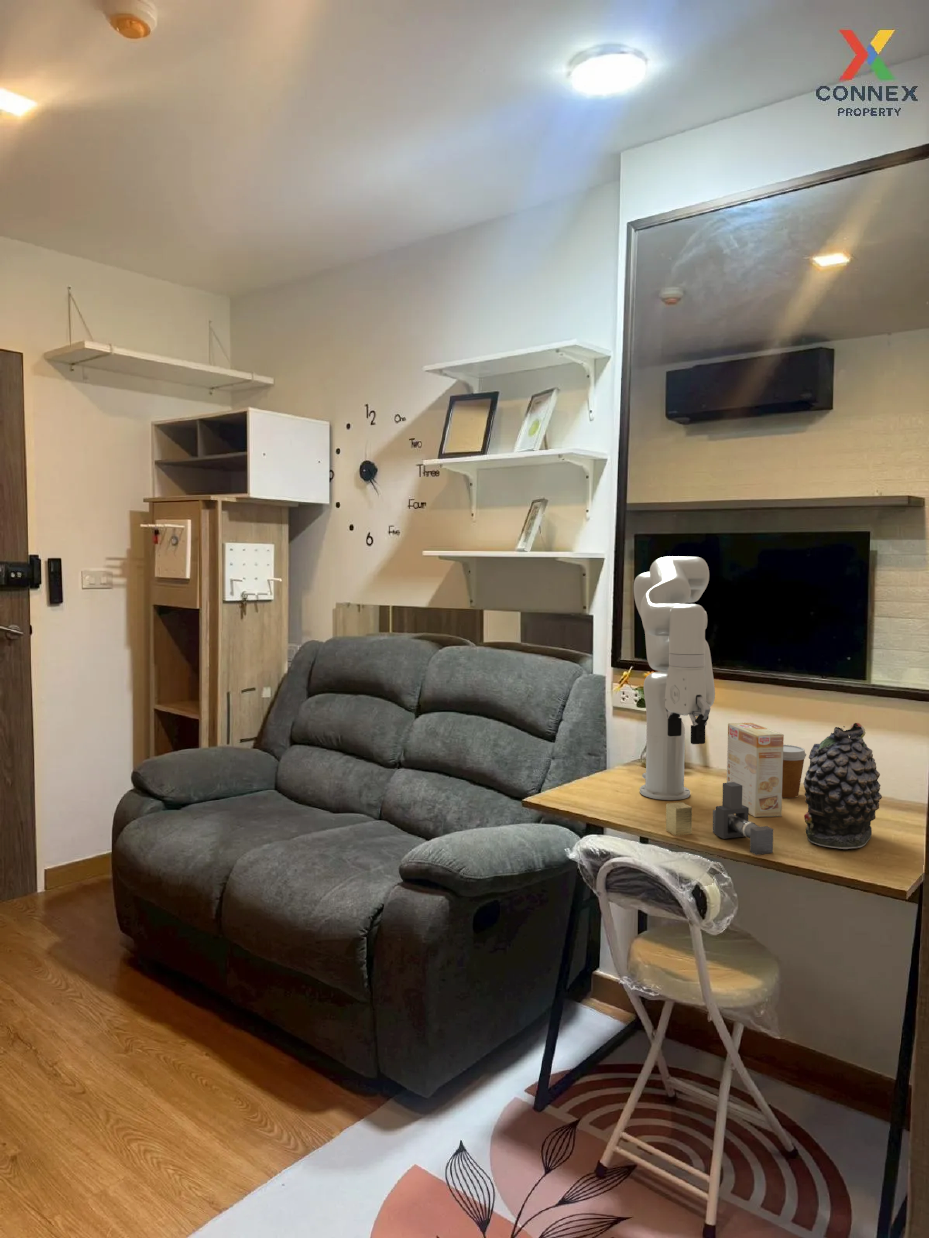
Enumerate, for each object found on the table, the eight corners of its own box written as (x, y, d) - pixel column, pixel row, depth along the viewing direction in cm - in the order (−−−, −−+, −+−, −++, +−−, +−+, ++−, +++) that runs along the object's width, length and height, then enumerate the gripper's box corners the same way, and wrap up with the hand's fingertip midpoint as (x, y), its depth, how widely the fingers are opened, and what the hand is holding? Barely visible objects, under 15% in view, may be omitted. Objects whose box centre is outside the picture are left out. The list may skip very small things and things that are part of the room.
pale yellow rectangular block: (665, 830, 184) (666, 803, 184) (681, 828, 185) (681, 802, 185) (675, 835, 180) (676, 808, 180) (691, 833, 182) (692, 807, 181)
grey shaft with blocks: (712, 832, 183) (713, 809, 182) (728, 830, 184) (728, 807, 183) (756, 854, 168) (756, 830, 168) (772, 852, 170) (773, 828, 169)
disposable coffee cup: (809, 800, 206) (810, 753, 206) (769, 798, 208) (770, 751, 207) (800, 790, 216) (801, 744, 215) (762, 788, 217) (763, 743, 216)
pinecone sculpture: (814, 820, 191) (817, 713, 189) (886, 832, 182) (890, 720, 181) (791, 845, 174) (794, 728, 172) (869, 860, 165) (874, 736, 164)
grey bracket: (715, 834, 180) (716, 783, 179) (739, 831, 182) (740, 781, 181) (723, 838, 177) (724, 787, 176) (747, 835, 179) (749, 784, 178)
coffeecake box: (782, 816, 194) (785, 734, 192) (754, 817, 193) (756, 735, 191) (751, 798, 208) (753, 721, 207) (725, 799, 207) (726, 722, 206)
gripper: (652, 658, 188) (651, 733, 189) (692, 665, 171) (691, 747, 172) (681, 658, 190) (680, 732, 191) (724, 665, 173) (723, 746, 174)
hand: (685, 739), depth 181 cm, fingers open, 9 cm apart
